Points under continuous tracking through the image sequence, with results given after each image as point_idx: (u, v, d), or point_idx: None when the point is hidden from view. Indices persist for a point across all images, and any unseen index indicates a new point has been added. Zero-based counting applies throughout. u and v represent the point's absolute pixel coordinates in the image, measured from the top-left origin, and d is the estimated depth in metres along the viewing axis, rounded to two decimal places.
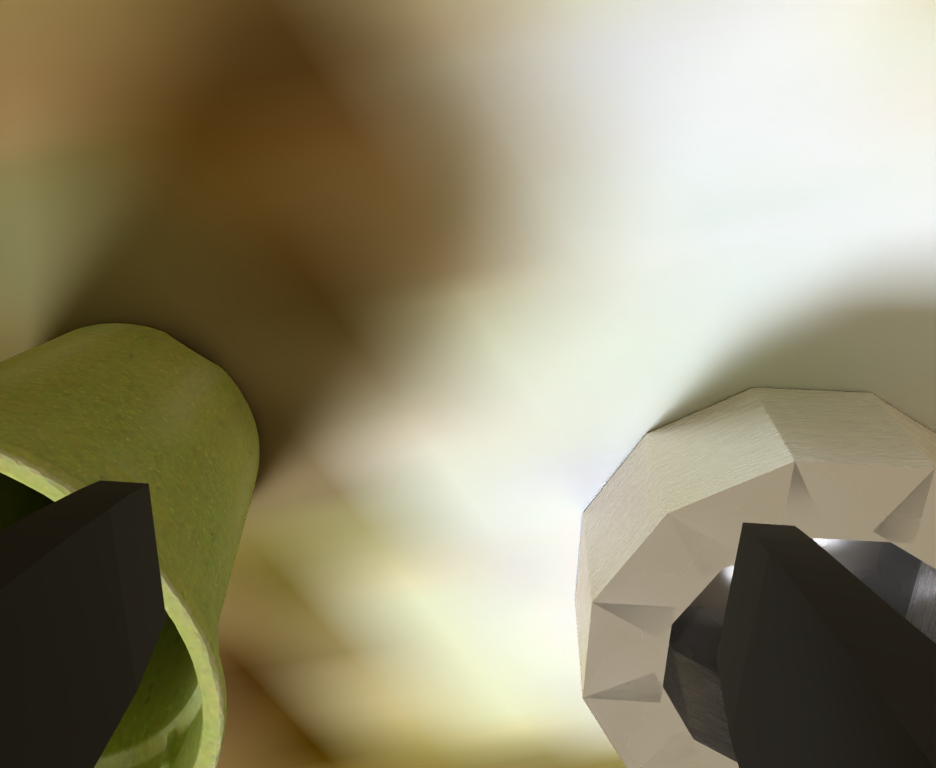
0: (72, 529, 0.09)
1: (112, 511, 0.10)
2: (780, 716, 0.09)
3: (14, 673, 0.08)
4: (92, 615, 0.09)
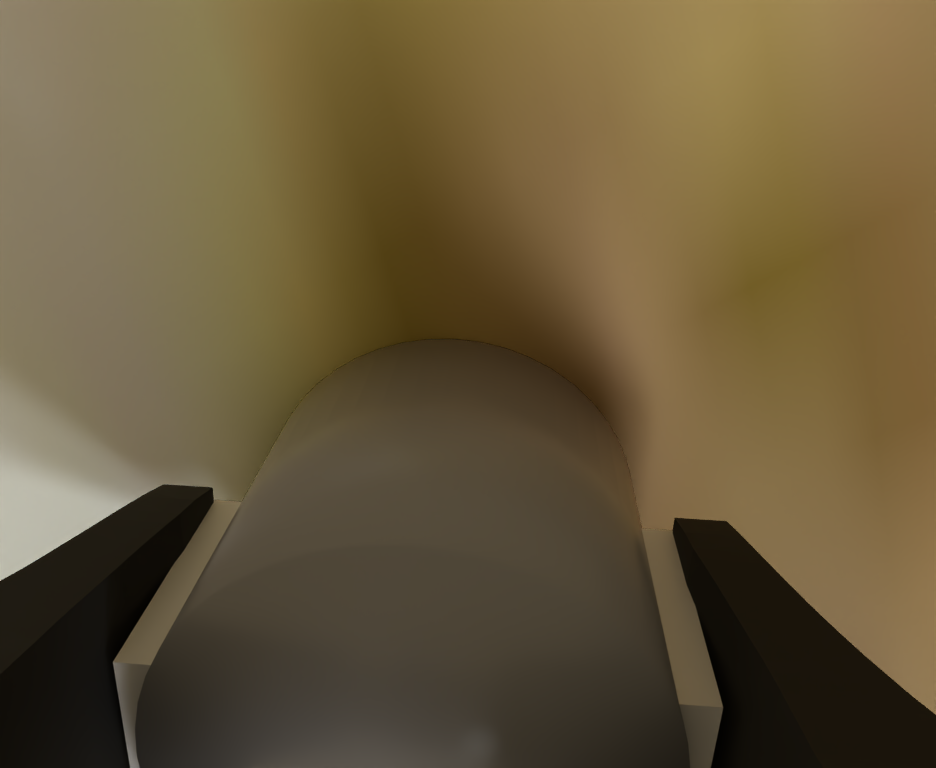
0: (147, 534, 0.09)
1: (182, 516, 0.10)
2: None
3: (97, 679, 0.08)
4: None
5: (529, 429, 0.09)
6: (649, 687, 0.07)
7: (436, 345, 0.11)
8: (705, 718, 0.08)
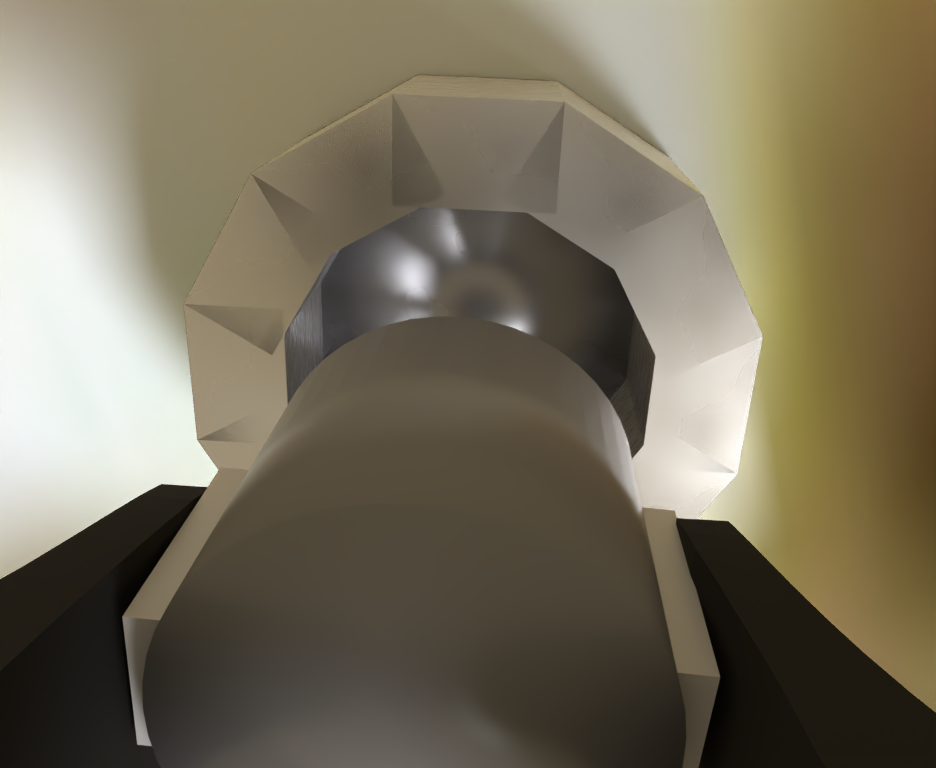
0: (144, 534, 0.09)
1: (179, 515, 0.10)
2: None
3: (94, 679, 0.08)
4: None
5: (537, 404, 0.09)
6: (649, 653, 0.07)
7: (445, 322, 0.11)
8: (702, 687, 0.08)
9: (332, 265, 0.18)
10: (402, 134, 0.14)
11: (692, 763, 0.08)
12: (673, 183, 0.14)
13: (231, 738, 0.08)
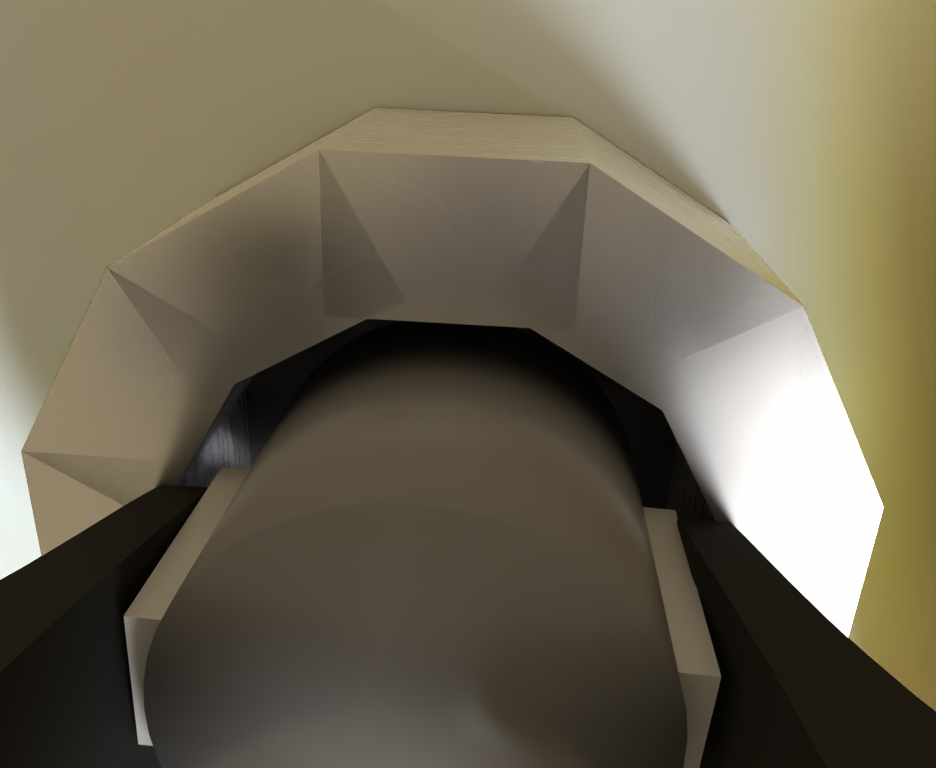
0: (145, 534, 0.09)
1: (180, 515, 0.10)
2: None
3: (95, 679, 0.08)
4: None
5: (537, 404, 0.09)
6: (650, 653, 0.07)
7: None
8: (703, 687, 0.08)
9: None
10: (336, 211, 0.09)
11: (693, 763, 0.08)
12: (757, 287, 0.09)
13: (232, 738, 0.08)
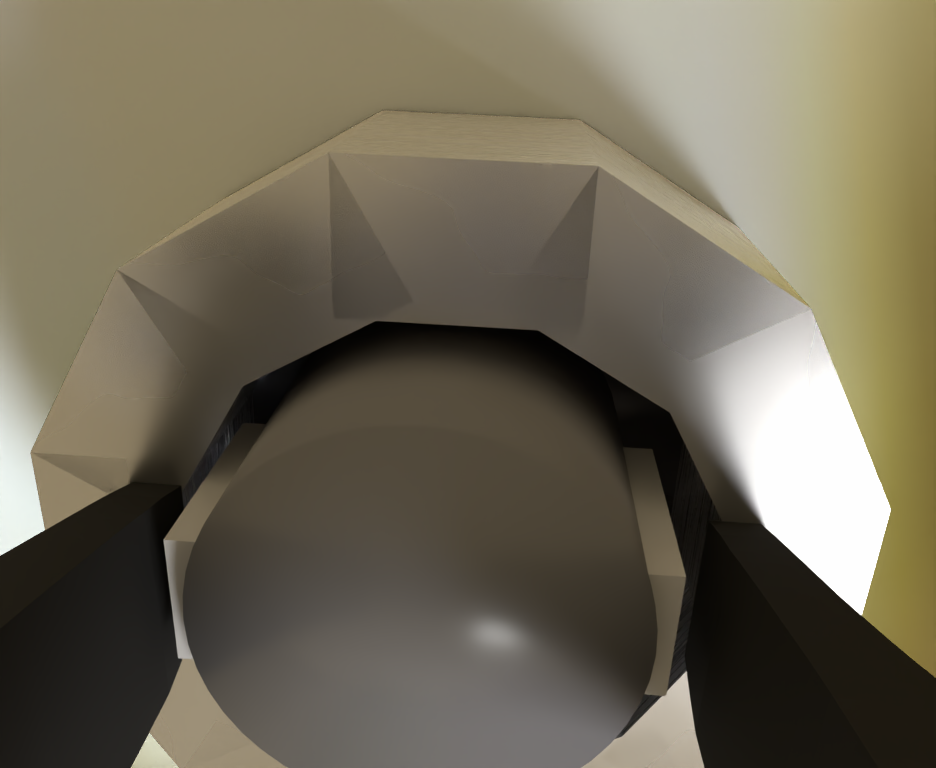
0: (110, 531, 0.09)
1: (147, 513, 0.10)
2: (740, 712, 0.09)
3: (56, 676, 0.08)
4: (128, 617, 0.09)
5: (523, 352, 0.10)
6: (621, 552, 0.09)
7: None
8: (671, 587, 0.09)
9: None
10: (345, 213, 0.09)
11: (666, 657, 0.09)
12: (765, 290, 0.09)
13: (261, 645, 0.09)
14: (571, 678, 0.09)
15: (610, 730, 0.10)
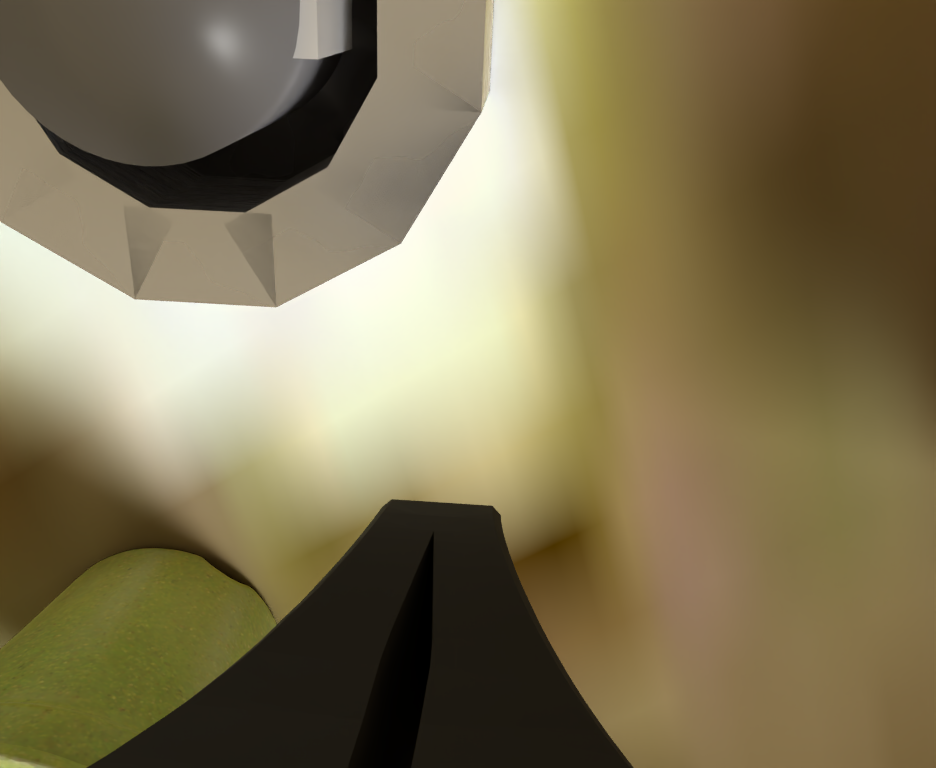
0: (415, 552, 0.09)
1: None
2: None
3: (394, 701, 0.08)
4: (421, 638, 0.09)
5: None
6: None
7: None
8: None
9: None
10: None
11: (311, 19, 0.13)
12: None
13: (17, 6, 0.13)
14: (239, 27, 0.13)
15: (273, 75, 0.13)
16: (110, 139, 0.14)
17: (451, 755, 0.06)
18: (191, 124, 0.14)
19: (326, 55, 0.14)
